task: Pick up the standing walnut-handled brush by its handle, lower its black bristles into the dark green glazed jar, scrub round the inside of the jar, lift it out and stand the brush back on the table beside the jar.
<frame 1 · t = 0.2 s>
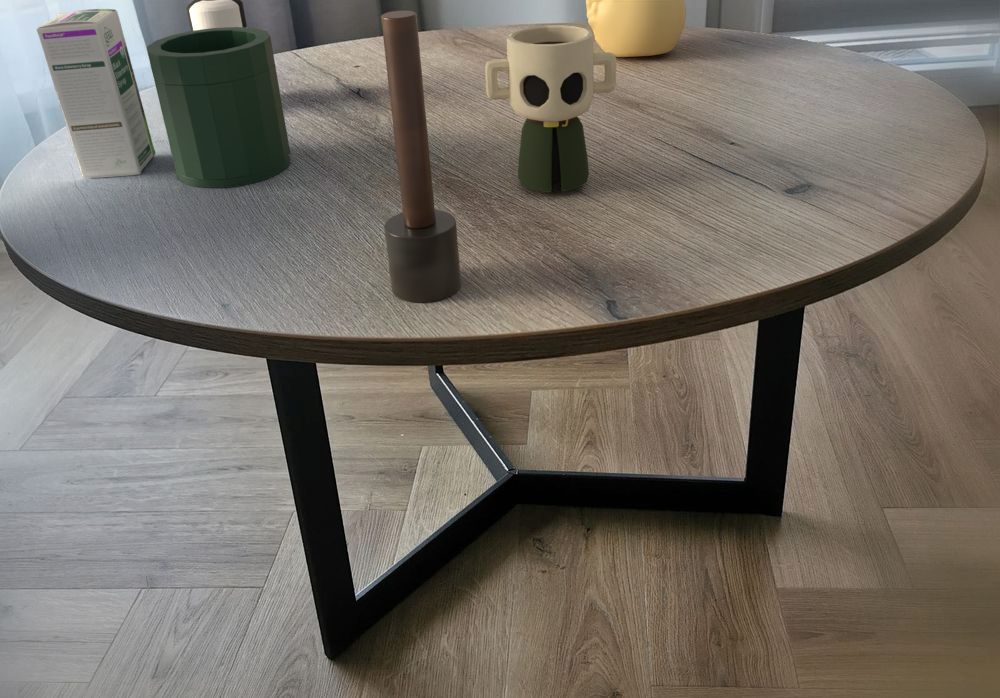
jar: (234, 167, 93), on the table
syrup box: (119, 169, 95), on the table
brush: (426, 286, 69), on the table
sculpture: (635, 55, 122), on the table
medicine bottle: (234, 108, 111), on the table
character mug: (553, 187, 85), on the table
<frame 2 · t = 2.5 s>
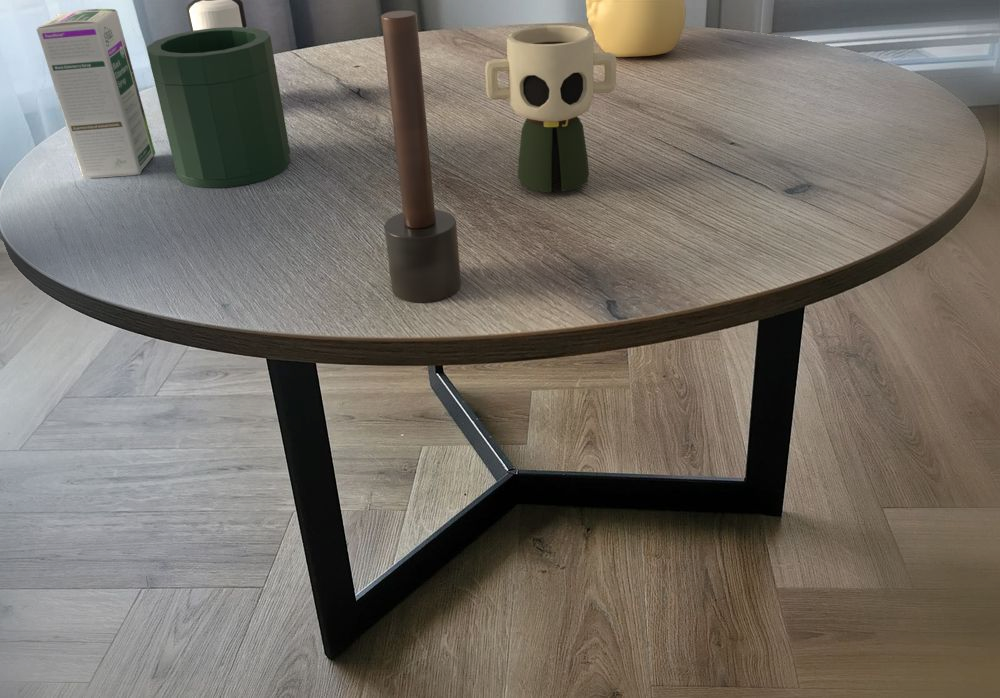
nothing on the table moved.
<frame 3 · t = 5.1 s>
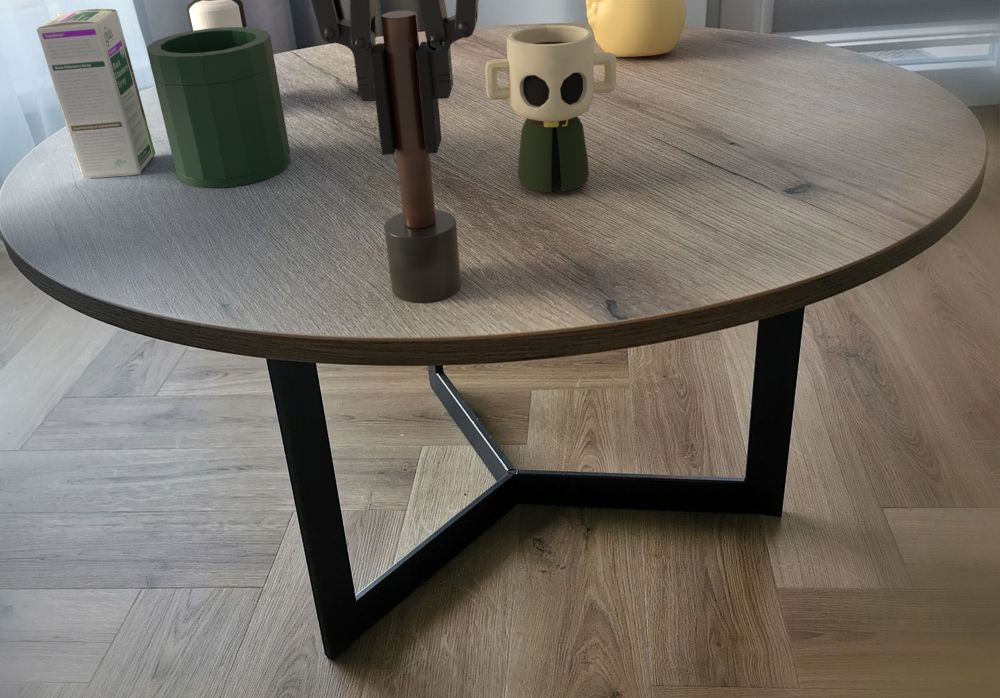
hand: (412, 146, 64), 10 cm above the table, tool pointing down, fingers closed on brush, 2 cm apart
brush: (426, 286, 69), on the table, touching gripper
everything else where it was.
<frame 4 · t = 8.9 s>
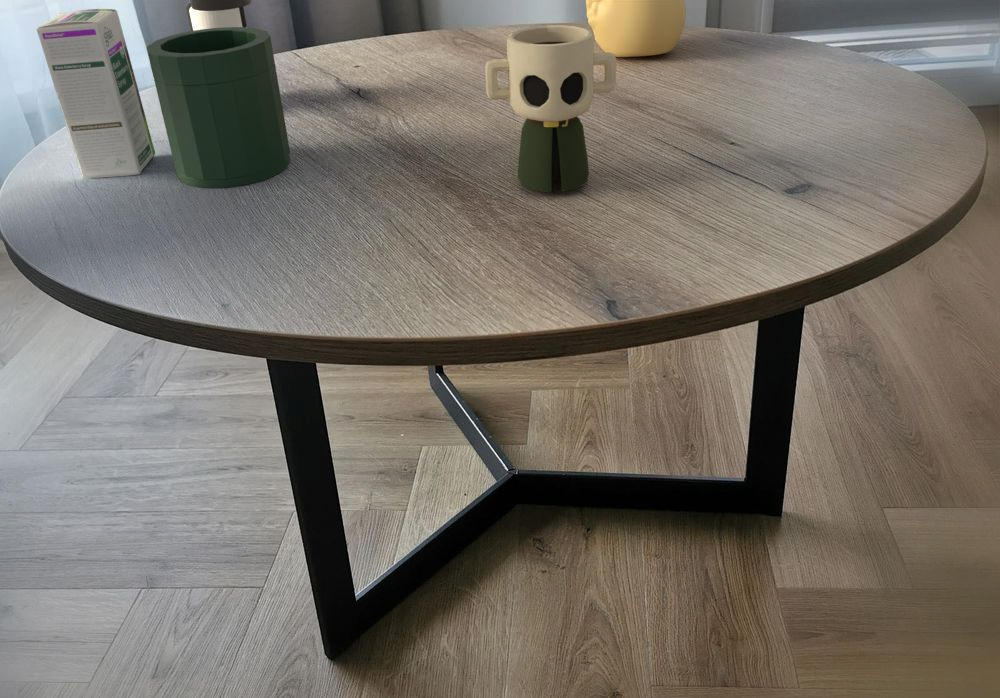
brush: (221, 4, 81), point 16 cm above the table, touching gripper
everything else where it was.
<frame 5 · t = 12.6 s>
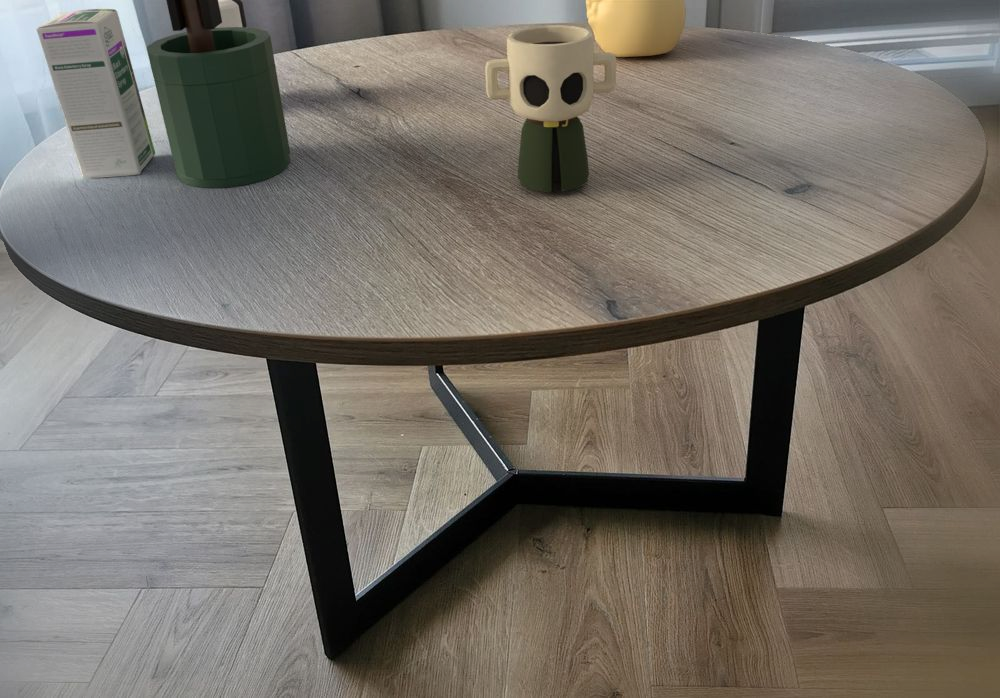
hand: (197, 26, 86), 13 cm above the table, tool pointing down, fingers closed on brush, 2 cm apart
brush: (221, 139, 91), point 3 cm above the table, touching gripper
everything else where it was.
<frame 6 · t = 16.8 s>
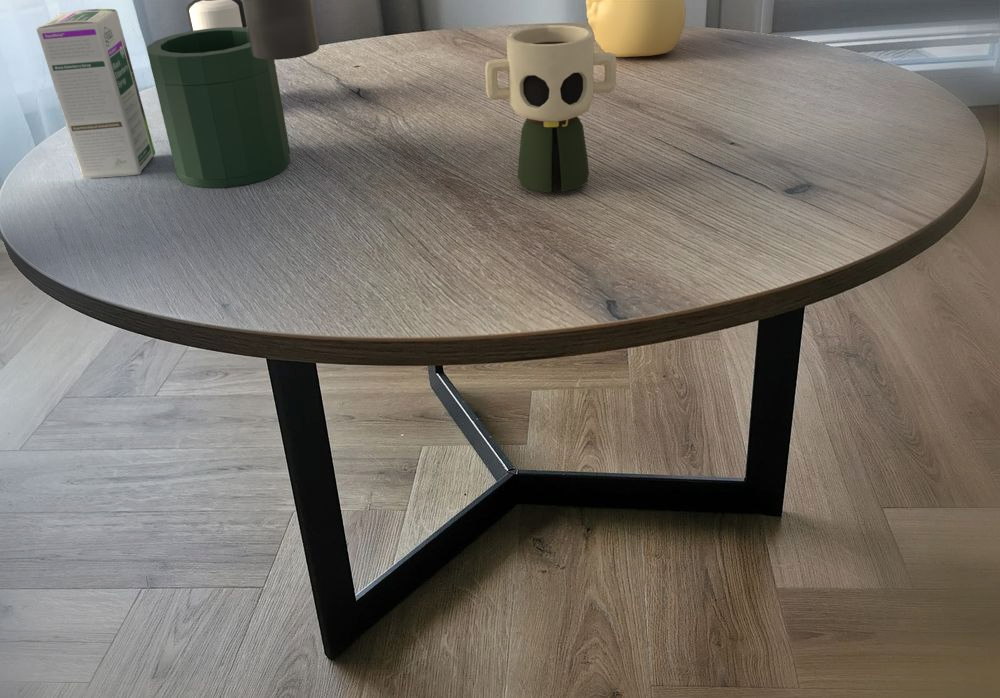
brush: (286, 51, 72), point 14 cm above the table, touching gripper
everything else where it was.
when the fingers open (10 cm above the table, at t = 20.1 s): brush stays where it is, on the table.
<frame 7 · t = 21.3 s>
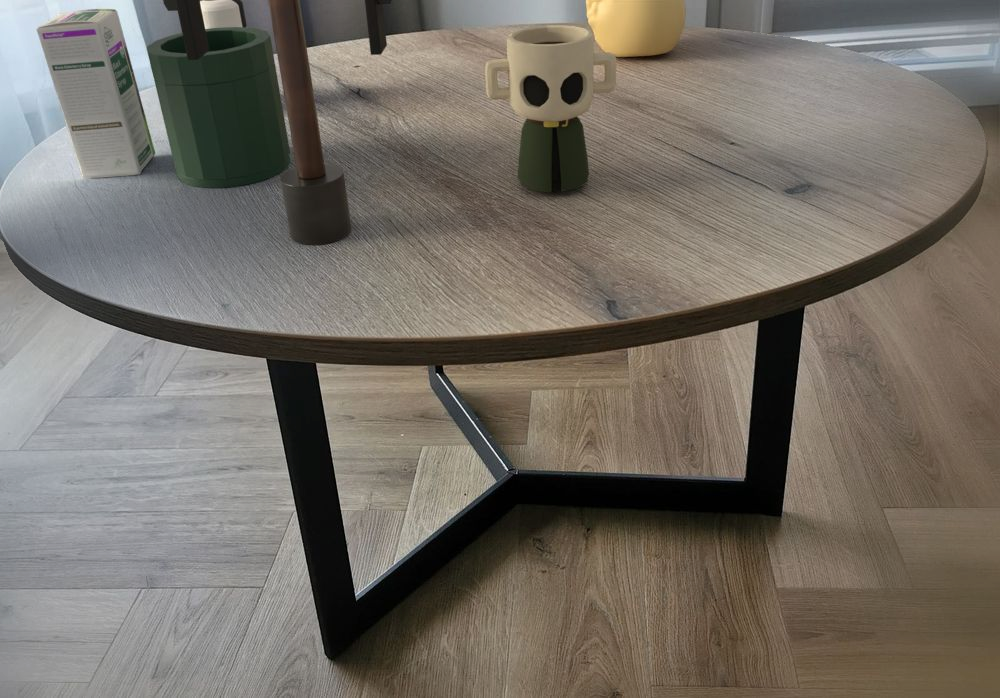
hand: (288, 53, 71), 14 cm above the table, tool pointing down, fingers open, 13 cm apart
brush: (321, 232, 78), on the table
everything else where it was.
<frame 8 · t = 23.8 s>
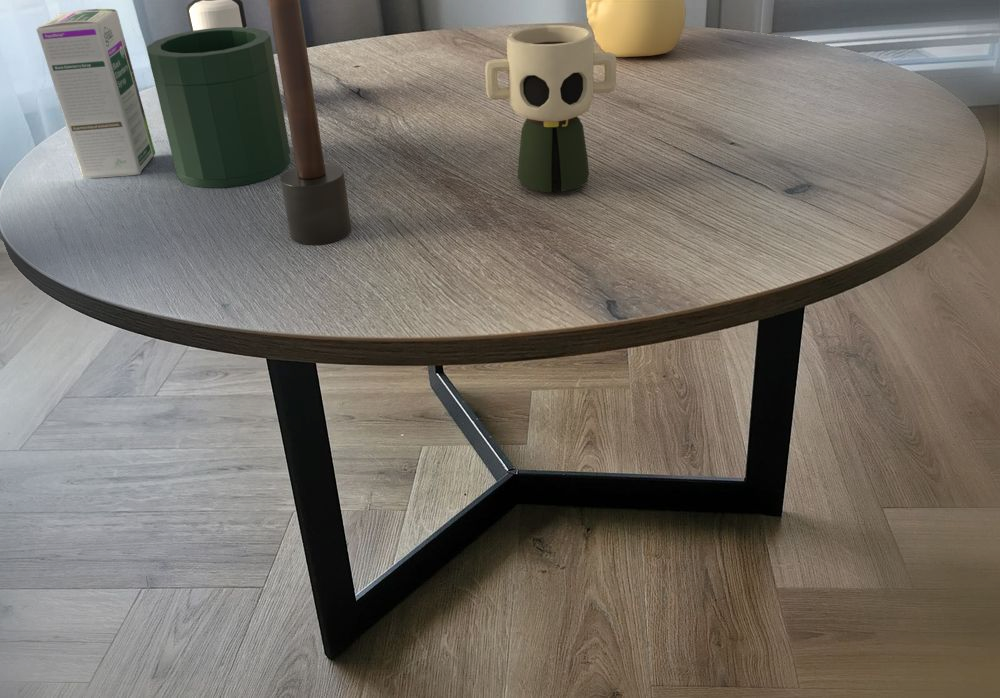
nothing on the table moved.
at the end: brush inside the target area on the table beside the jar (0.1 cm from its centre), on the table; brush tilted 0°; the gripper is holding nothing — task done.
